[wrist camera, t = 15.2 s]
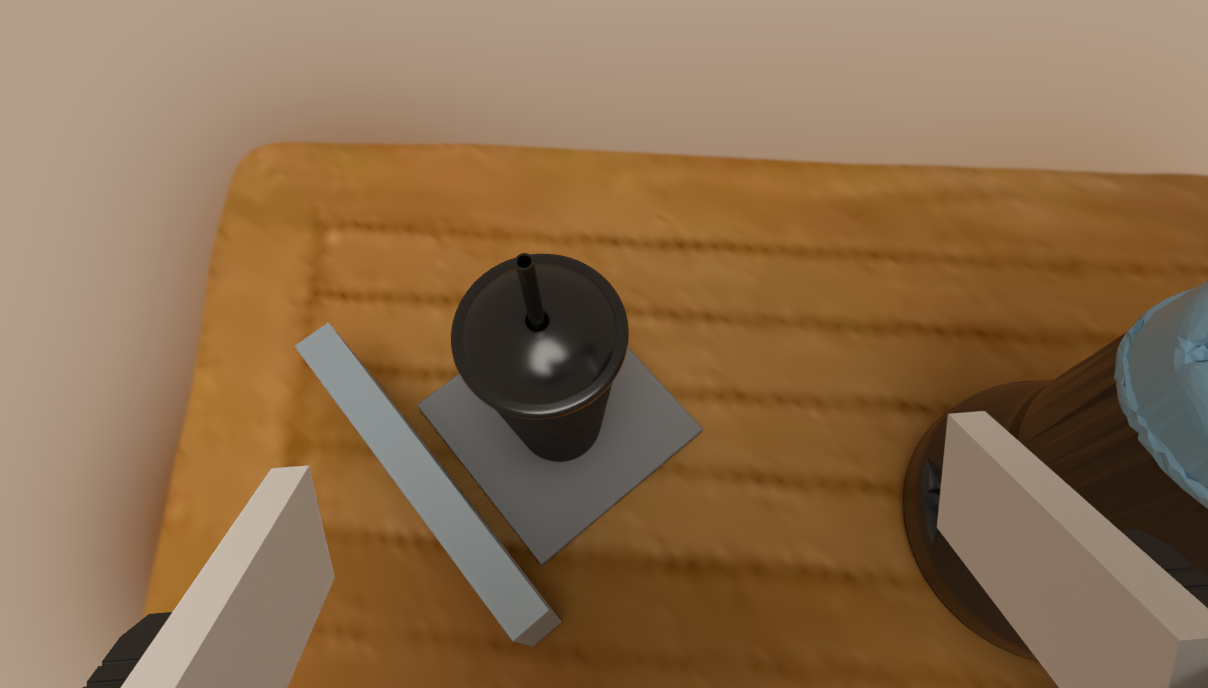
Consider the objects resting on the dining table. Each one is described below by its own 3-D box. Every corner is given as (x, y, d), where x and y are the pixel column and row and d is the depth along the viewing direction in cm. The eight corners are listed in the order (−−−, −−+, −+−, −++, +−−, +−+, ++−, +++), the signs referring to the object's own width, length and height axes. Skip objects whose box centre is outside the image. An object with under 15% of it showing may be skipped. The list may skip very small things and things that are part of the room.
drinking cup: (472, 399, 47) (381, 228, 29) (583, 339, 49) (566, 139, 30) (532, 511, 45) (476, 401, 26) (648, 444, 46) (672, 295, 28)
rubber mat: (574, 292, 51) (573, 288, 50) (701, 431, 47) (703, 429, 47) (419, 407, 48) (416, 404, 47) (542, 565, 44) (541, 564, 44)
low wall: (377, 382, 49) (328, 322, 40) (561, 621, 43) (549, 610, 35) (350, 402, 48) (294, 346, 40) (532, 647, 43) (512, 641, 34)
